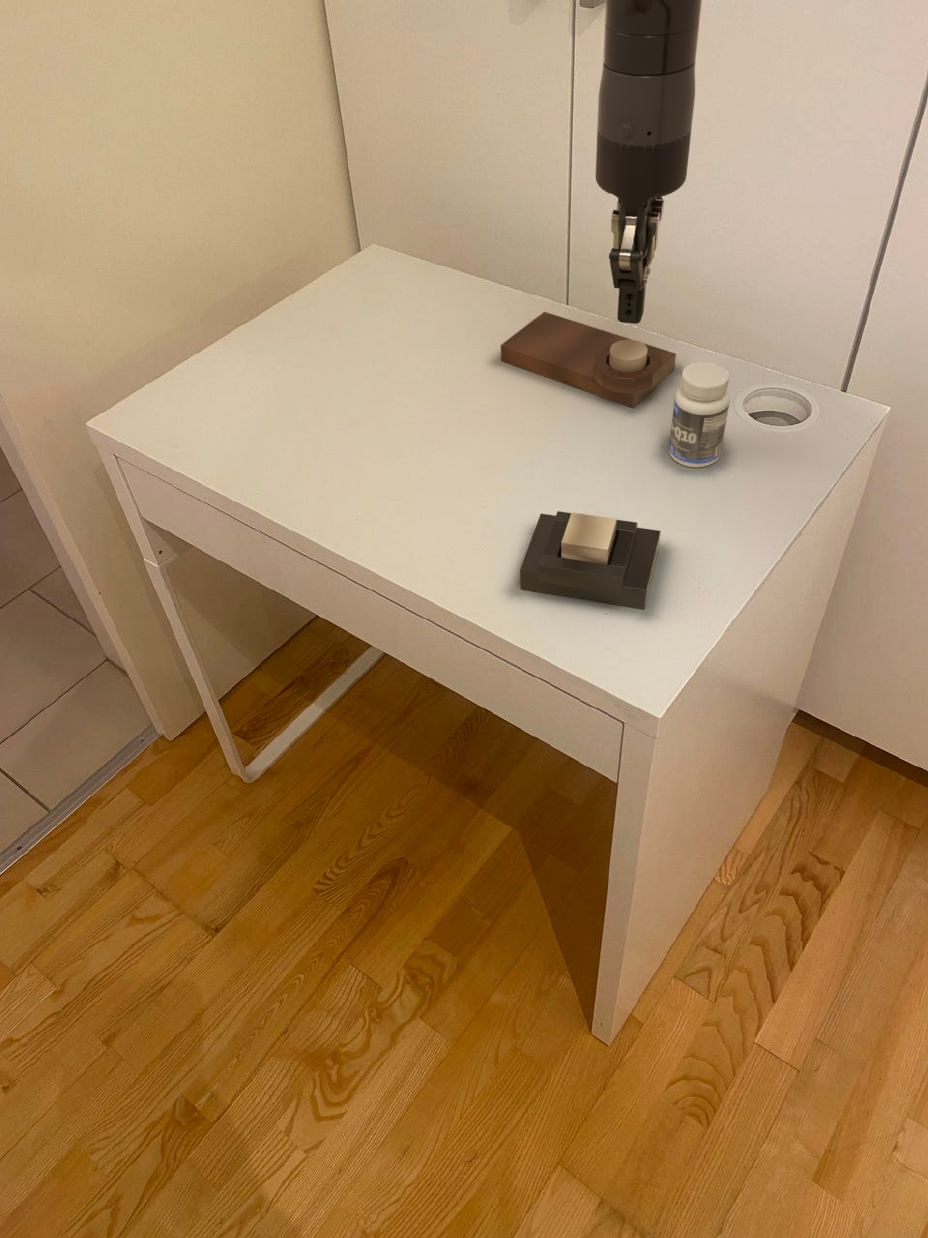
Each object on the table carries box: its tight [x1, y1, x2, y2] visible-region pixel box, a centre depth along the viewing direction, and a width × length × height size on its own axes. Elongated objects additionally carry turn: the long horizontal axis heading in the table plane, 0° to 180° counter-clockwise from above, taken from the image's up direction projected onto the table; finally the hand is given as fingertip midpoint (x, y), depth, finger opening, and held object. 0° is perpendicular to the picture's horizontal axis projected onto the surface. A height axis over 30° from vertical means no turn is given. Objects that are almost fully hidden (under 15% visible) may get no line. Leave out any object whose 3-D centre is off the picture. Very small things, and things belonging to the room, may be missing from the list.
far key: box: [609, 339, 648, 372], centre depth 92 cm, size 4×4×2 cm
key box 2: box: [519, 510, 661, 610], centre depth 76 cm, size 10×8×4 cm
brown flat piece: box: [500, 311, 677, 409], centre depth 97 cm, size 17×9×4 cm, turn 52°
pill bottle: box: [668, 361, 731, 468], centre depth 85 cm, size 5×5×8 cm
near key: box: [561, 512, 618, 565], centre depth 74 cm, size 4×4×2 cm
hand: (630, 318), depth 89 cm, fingers closed
